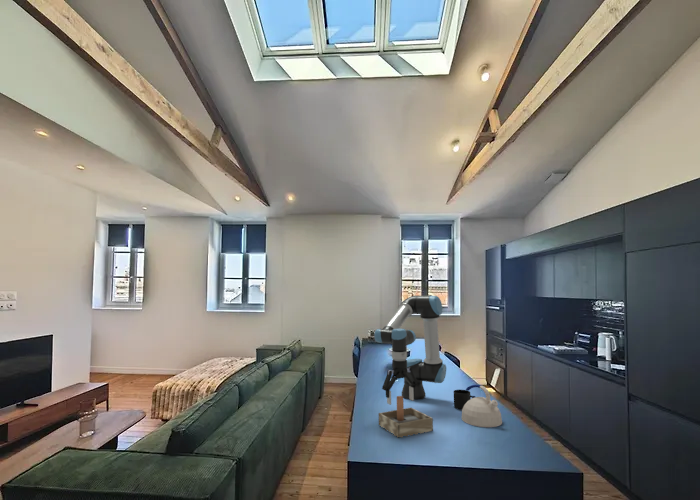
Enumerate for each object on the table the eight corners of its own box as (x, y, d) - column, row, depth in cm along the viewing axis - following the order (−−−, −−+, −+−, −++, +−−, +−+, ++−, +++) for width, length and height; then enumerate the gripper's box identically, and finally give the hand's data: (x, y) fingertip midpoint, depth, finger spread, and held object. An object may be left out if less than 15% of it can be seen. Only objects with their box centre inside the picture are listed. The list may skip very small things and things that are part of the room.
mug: (476, 411, 215) (476, 394, 215) (454, 409, 217) (454, 393, 218) (474, 405, 224) (473, 390, 225) (453, 404, 226) (452, 389, 227)
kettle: (482, 430, 185) (481, 392, 187) (453, 417, 204) (452, 383, 206) (511, 423, 195) (510, 387, 197) (480, 412, 213) (479, 378, 215)
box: (378, 425, 192) (378, 413, 193) (411, 419, 201) (411, 407, 202) (398, 438, 176) (398, 424, 177) (432, 430, 185) (432, 417, 186)
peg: (395, 424, 193) (395, 396, 194) (401, 423, 195) (400, 395, 196) (399, 427, 190) (399, 398, 191) (405, 426, 192) (404, 397, 193)
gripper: (382, 363, 187) (383, 407, 185) (423, 358, 198) (424, 400, 196) (374, 360, 193) (375, 403, 192) (415, 355, 205) (416, 396, 203)
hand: (400, 401), depth 194 cm, fingers open, 13 cm apart
